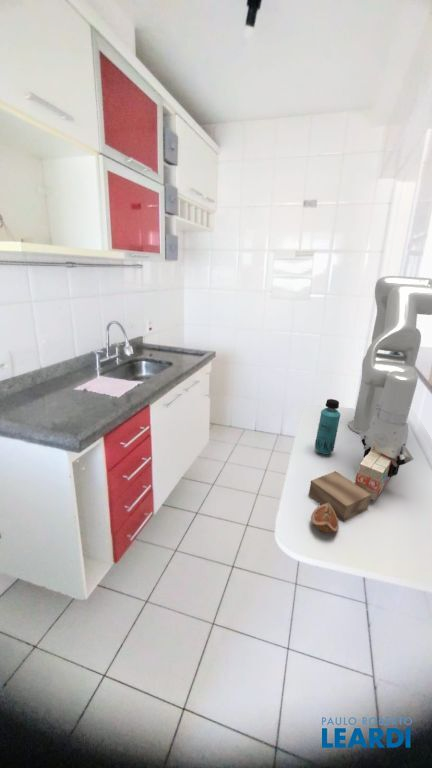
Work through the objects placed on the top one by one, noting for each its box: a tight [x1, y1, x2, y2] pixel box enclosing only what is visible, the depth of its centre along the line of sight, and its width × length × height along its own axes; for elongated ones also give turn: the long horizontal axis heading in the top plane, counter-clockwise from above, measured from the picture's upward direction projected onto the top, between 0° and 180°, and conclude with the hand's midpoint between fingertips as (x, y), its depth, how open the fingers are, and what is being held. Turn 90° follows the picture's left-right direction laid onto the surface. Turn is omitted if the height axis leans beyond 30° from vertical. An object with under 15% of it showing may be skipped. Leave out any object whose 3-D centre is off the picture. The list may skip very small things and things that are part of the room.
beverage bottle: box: [314, 398, 341, 455], centre depth 116 cm, size 6×7×20 cm
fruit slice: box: [310, 502, 340, 534], centre depth 85 cm, size 8×7×5 cm
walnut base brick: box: [308, 470, 371, 523], centre depth 94 cm, size 10×12×5 cm
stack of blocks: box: [354, 442, 393, 501], centre depth 101 cm, size 21×6×12 cm, turn 140°
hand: (379, 467), depth 102 cm, fingers closed on stack of blocks, 7 cm apart
